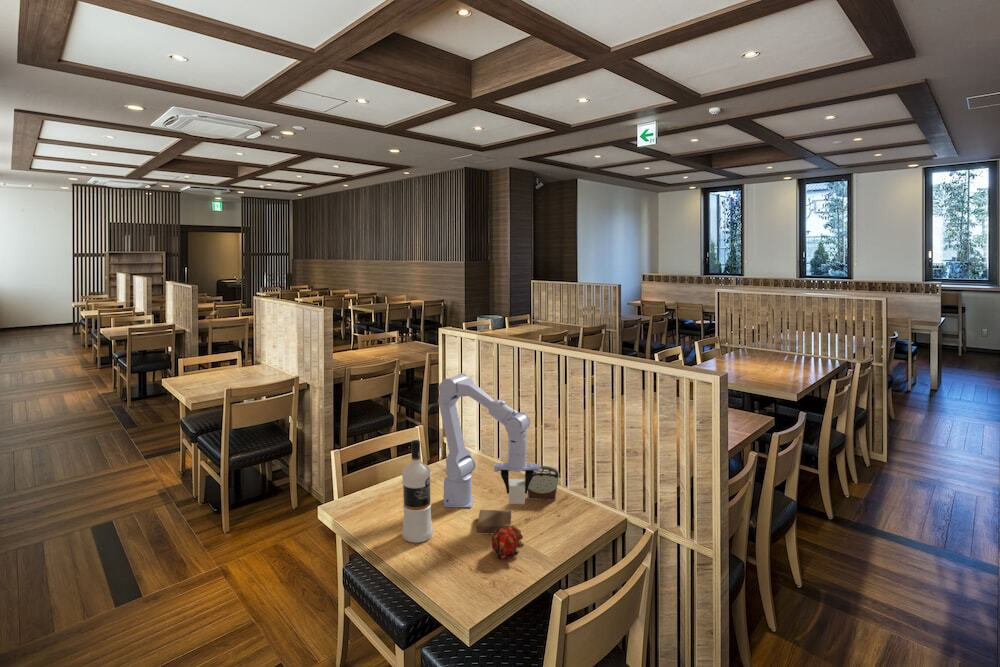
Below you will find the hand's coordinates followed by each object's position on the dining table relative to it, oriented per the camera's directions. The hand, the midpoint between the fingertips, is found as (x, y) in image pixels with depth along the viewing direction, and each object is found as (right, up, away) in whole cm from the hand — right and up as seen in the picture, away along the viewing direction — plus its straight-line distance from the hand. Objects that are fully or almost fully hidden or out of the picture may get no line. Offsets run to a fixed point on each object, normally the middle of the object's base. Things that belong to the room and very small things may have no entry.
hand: (516, 492), depth 172 cm
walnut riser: (-7, -10, -3) cm, 13 cm away
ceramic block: (0, -3, 0) cm, 3 cm away
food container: (+9, -7, +17) cm, 21 cm away
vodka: (-30, -11, -10) cm, 33 cm away
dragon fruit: (-3, -12, -19) cm, 23 cm away
